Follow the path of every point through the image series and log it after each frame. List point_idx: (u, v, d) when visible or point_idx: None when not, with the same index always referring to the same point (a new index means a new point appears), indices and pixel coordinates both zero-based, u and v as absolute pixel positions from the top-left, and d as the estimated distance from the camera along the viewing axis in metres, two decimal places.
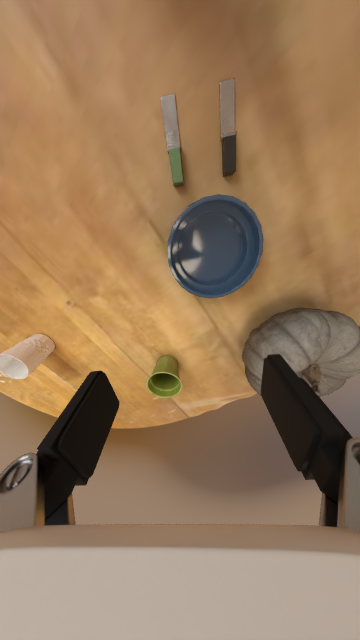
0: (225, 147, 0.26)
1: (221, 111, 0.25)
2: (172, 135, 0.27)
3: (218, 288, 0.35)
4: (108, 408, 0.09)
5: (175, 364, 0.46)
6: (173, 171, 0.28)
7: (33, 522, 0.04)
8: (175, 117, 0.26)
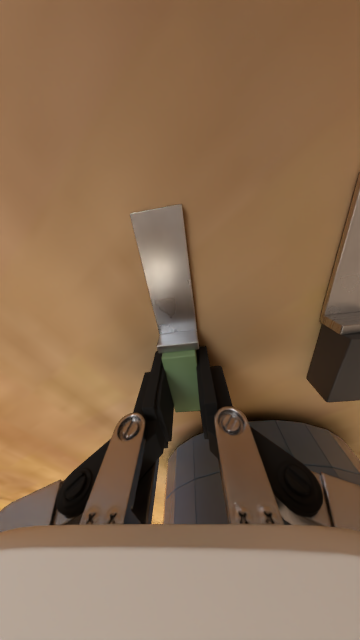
0: (346, 360, 0.08)
1: (345, 256, 0.07)
2: (173, 307, 0.09)
3: None
4: None
5: None
6: (176, 395, 0.10)
7: (127, 495, 0.05)
8: (183, 268, 0.08)
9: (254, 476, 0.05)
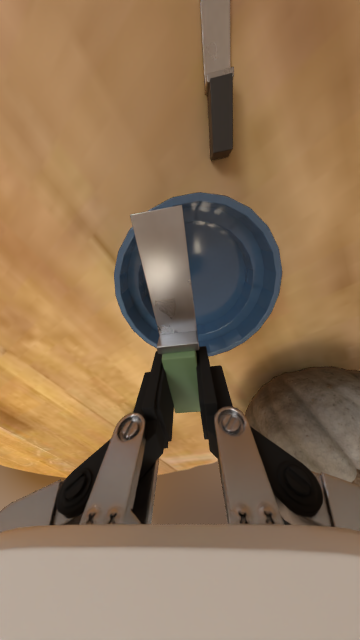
0: (212, 101, 0.14)
1: (204, 26, 0.13)
2: (173, 308, 0.09)
3: (207, 338, 0.23)
4: None
5: None
6: (176, 396, 0.10)
7: (127, 495, 0.05)
8: (183, 269, 0.08)
9: (254, 476, 0.05)
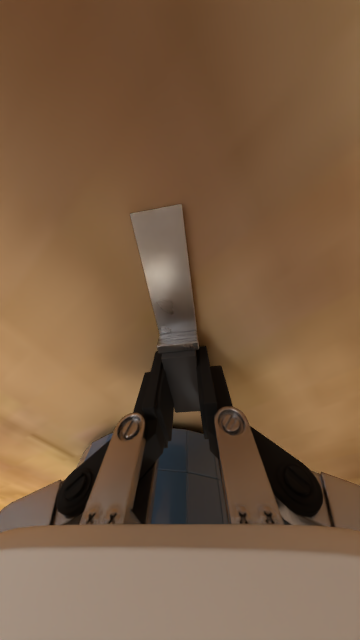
0: (168, 376, 0.09)
1: (150, 284, 0.08)
2: None
3: None
4: None
5: None
6: None
7: (127, 495, 0.05)
8: None
9: (254, 476, 0.05)
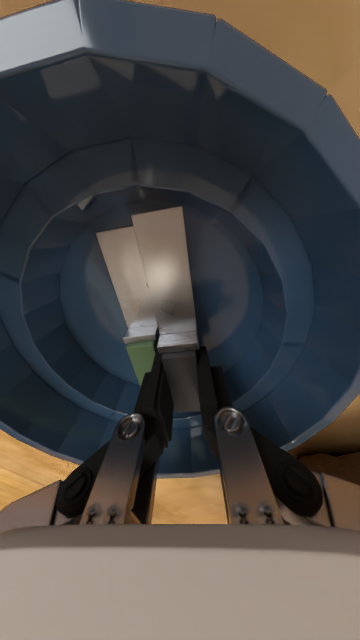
0: (168, 376, 0.09)
1: (150, 285, 0.08)
2: (137, 306, 0.11)
3: (188, 424, 0.12)
4: None
5: None
6: (142, 380, 0.11)
7: (127, 495, 0.05)
8: (141, 274, 0.10)
9: (254, 476, 0.05)
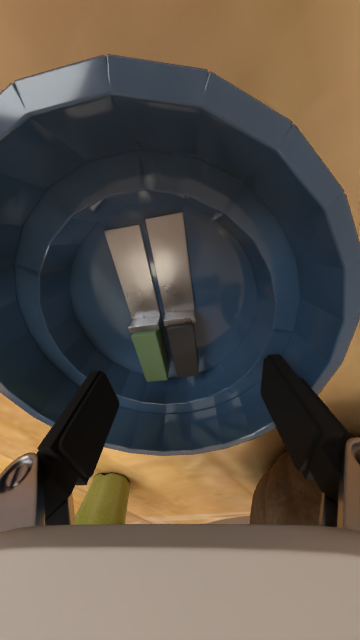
0: (171, 344, 0.11)
1: (158, 272, 0.11)
2: (140, 298, 0.12)
3: (188, 408, 0.13)
4: (108, 408, 0.09)
5: (119, 500, 0.24)
6: (145, 367, 0.12)
7: (33, 522, 0.04)
8: (145, 269, 0.11)
9: None
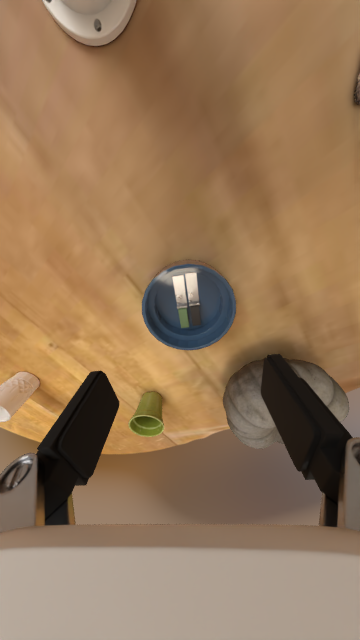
0: (191, 312, 0.34)
1: (187, 288, 0.33)
2: (181, 297, 0.34)
3: (196, 338, 0.36)
4: (108, 408, 0.09)
5: (159, 402, 0.47)
6: (181, 321, 0.35)
7: (33, 522, 0.04)
8: (183, 287, 0.33)
9: None
